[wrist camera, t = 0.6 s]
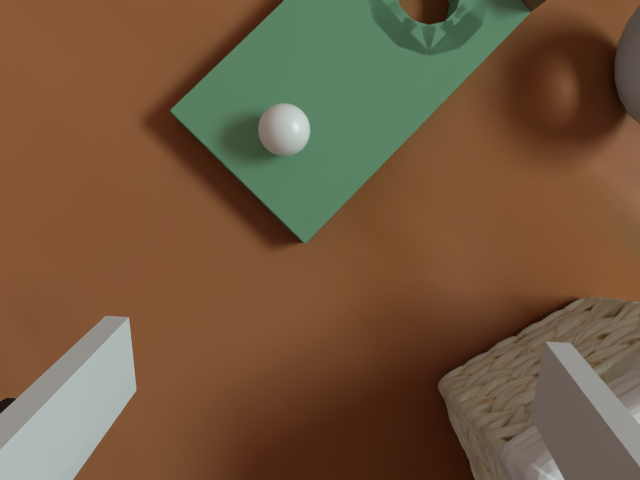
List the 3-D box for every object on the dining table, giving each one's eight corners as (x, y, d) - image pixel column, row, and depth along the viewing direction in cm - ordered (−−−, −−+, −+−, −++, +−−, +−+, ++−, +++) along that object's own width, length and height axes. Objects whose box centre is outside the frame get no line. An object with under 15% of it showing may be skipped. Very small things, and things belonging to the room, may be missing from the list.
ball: (283, 170, 31) (286, 163, 28) (247, 134, 31) (246, 123, 28) (317, 135, 31) (324, 125, 28) (282, 99, 31) (285, 85, 28)
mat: (302, 242, 33) (305, 243, 31) (174, 117, 32) (170, 110, 30) (528, 10, 35) (545, -3, 33) (418, -117, 34) (428, -139, 32)
